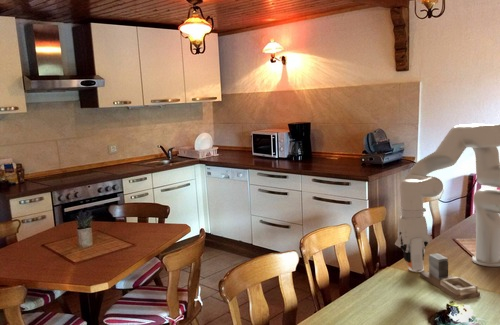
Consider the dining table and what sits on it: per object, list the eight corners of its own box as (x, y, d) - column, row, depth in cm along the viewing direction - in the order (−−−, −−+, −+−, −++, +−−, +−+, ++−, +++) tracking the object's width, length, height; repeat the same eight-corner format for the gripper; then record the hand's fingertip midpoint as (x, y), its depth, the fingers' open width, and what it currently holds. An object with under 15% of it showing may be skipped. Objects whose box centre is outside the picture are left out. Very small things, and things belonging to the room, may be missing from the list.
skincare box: (405, 264, 167) (404, 234, 166) (416, 263, 168) (415, 233, 166) (412, 270, 161) (411, 239, 160) (423, 269, 162) (422, 238, 160)
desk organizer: (439, 273, 179) (439, 250, 178) (480, 296, 157) (480, 270, 155) (419, 276, 177) (419, 253, 176) (457, 300, 155) (457, 274, 154)
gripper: (426, 207, 167) (428, 253, 169) (385, 213, 163) (388, 260, 166) (439, 212, 159) (440, 260, 162) (396, 218, 156) (398, 267, 159)
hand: (414, 259), depth 164 cm, fingers closed on skincare box, 4 cm apart
